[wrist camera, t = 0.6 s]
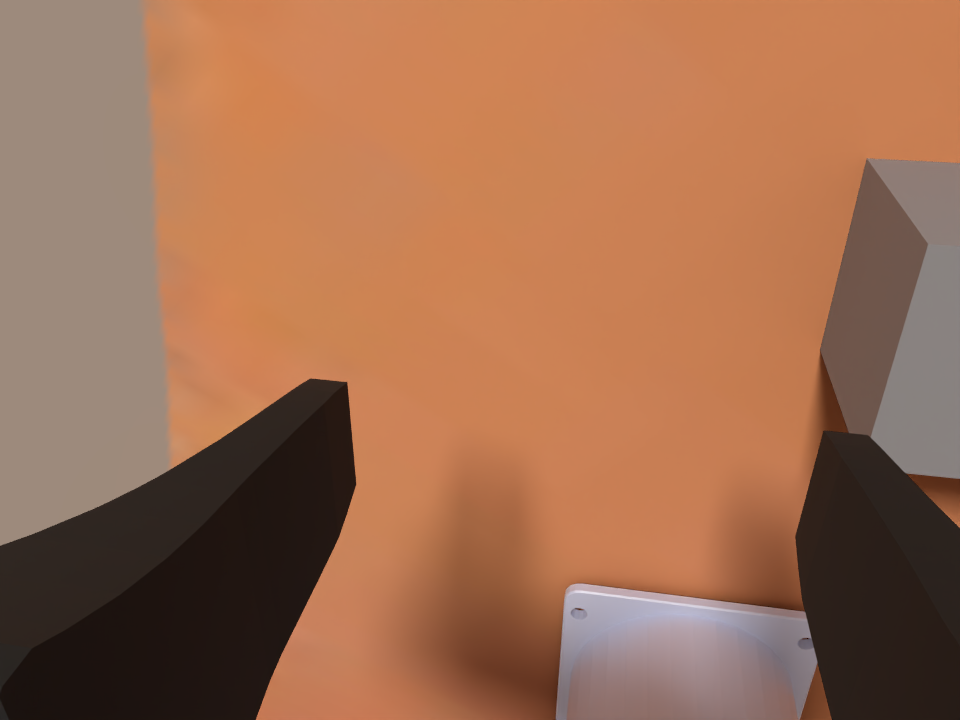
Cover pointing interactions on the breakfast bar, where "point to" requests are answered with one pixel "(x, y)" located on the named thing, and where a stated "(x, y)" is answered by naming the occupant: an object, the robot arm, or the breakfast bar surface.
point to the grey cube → (901, 315)
